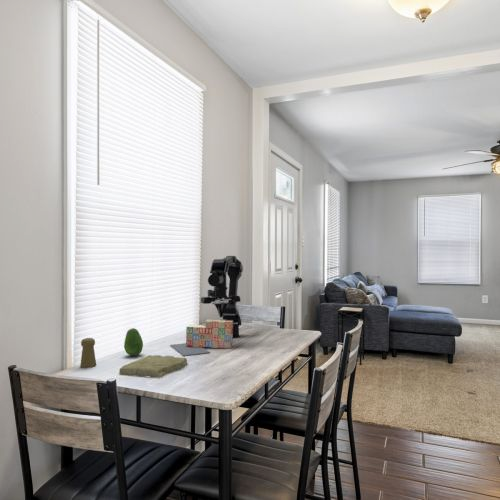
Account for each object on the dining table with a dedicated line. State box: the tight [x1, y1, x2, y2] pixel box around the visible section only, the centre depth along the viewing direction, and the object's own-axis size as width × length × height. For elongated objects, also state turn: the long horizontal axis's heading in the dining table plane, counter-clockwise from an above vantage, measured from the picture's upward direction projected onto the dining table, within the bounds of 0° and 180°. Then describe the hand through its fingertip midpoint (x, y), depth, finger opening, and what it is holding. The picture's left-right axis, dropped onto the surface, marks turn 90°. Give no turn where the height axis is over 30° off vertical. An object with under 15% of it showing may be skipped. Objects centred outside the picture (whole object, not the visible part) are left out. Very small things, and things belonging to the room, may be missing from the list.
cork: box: [79, 337, 97, 369], centre depth 164 cm, size 6×6×11 cm
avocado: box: [123, 327, 144, 357], centre depth 179 cm, size 8×8×12 cm
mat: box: [169, 342, 211, 357], centre depth 190 cm, size 12×23×1 cm, turn 25°
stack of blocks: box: [185, 318, 233, 349], centre depth 194 cm, size 21×6×12 cm, turn 84°
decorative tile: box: [119, 354, 188, 378], centre depth 158 cm, size 19×20×4 cm
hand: (220, 317), depth 199 cm, fingers closed
